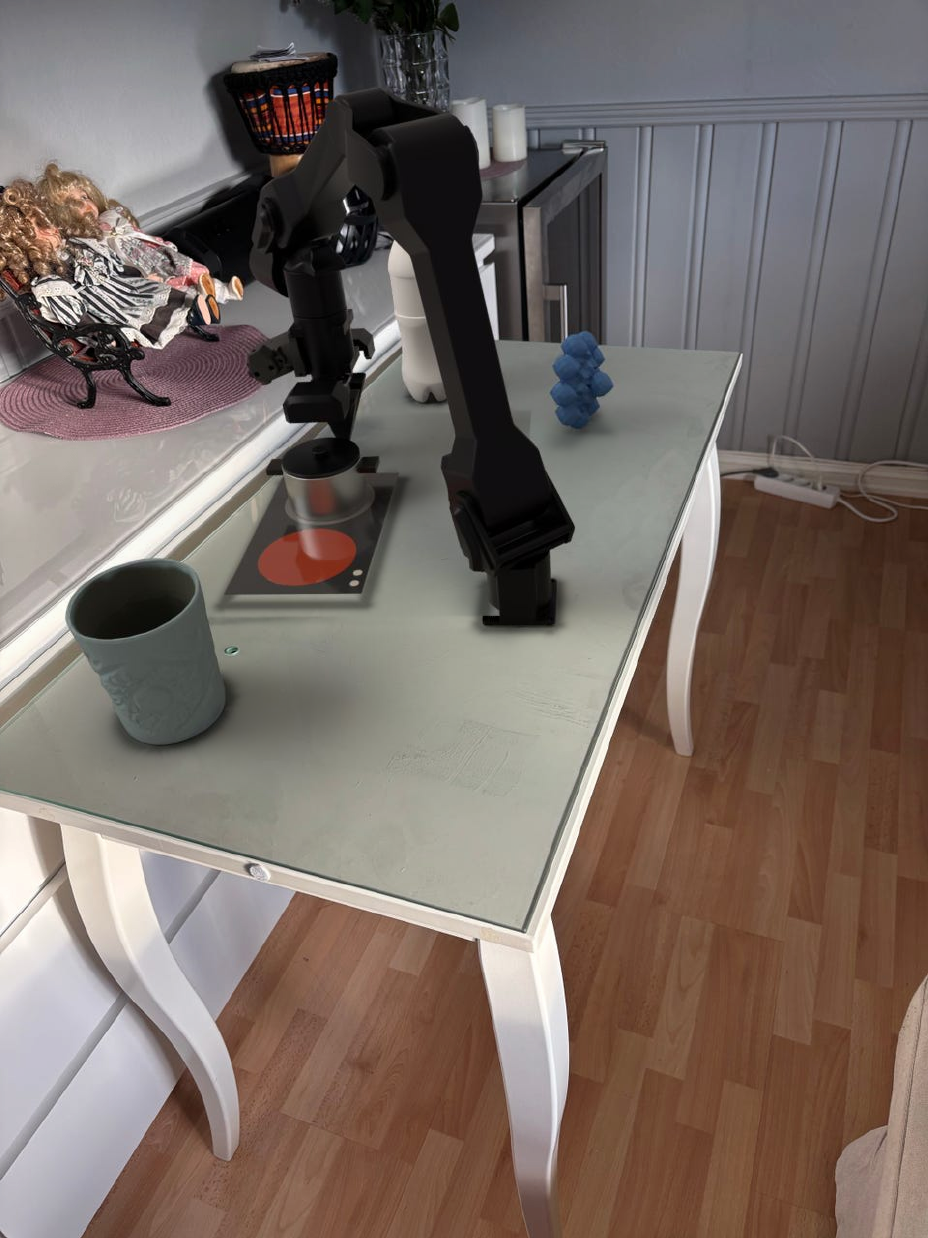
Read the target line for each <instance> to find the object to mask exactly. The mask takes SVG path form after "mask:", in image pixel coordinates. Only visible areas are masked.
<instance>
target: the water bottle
mask: <svg viewBox="0 0 928 1238" xmlns="http://www.w3.org/2000/svg"><path fill="white" fill-rule="evenodd" d="M387 270H388V274H389V278H390V285H391V293H392V300H393V307H394V309H393V314H394V318H395V320H396V322H397V325H398V330H399V334H400V340H401V348H402V349H401V352H402V359H401V360H402V361H401V374H402V381H403V383H404V385H405V388H406V390H407V391H408V392H409V394H410V395H411V397H412V398H413V399H414V400H415V401H416V402H418V403H426V402H427V401H428V398H429V396H430V393H432V394H433V396H434V398H435V400H436V401H437V402H443V401H447V398H446V395H445V391H444V387H443V383H442V379H441V375H440V371H439V367H438V363H437V359H436V355H435V352H434V348H433V344H432V340H431V336H430V332H429V328H428V324H427V320H426V316H425V312H424V309H423V305H422V301H421V297H420V293H419V289H418V285H417V281H416V277H415V273H414V269H413V266H412V262H411V259H410V256H409V255H408V253H407V252H406V251H405V250H404V249H403V248H402V247H401V246H400V245H399V244H398V243H397V242H396V241H395V240H394V239H393V242H392V245H391V248H390V251H389V255H388V260H387Z"/></svg>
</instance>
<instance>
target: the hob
mask: <svg viewBox="0 0 928 1238" xmlns="http://www.w3.org/2000/svg"><path fill="white" fill-rule="evenodd" d="M399 474H400V472H398V471H397V472H396V471H395V472H376V473H365V477H366V483H367V489H368V500H367V502H366V503H365V505H364V506H363V507H362V508H360V509H359V510H358V511H356V512H355V513H353V514H351V515H348V516H346V517H343V518H339V519H335V520H329V521H312V520H307V519H303V518H301V517H299V516H297V515H296V514H295V513H294V512H293V510H292V508H291V504H290V500H289V495H288V491H287V487H286V483H285V479H284V475H282V478H281V480H280V482H279V484H278V486H277V488H276V490H275V492H274V494H273V496H272V498H271V500H270V502H269V504H268V506H267V508H266V509H265V511H264V514H263V516H262V518H261V519H260V522H259V524H258V526H257V527H256V529H255V532H254V533H253V536H252V537H251V540H250V542H249V543H248V545H247V548H246V549H245V551H244V554H243V555H242V558H241V560H240V561H239V564H238V566H237V567H236V570H235V571H234V573H233V576H232V577H231V579H230V581H229V584H228V585H227V588H226V589H225V592H224V593H223V595H224V596H226V595H227V596H232V595H234V596H235V595H237V596H240V595H241V596H242V595H243V596H245V595H250V596H253V595H362V594H363V590H364V587H365V584H366V581H367V577H368V574H369V572H370V568H371V564H372V561H373V557H374V554H375V552H376V548H377V545H378V542H379V539H380V535H381V532H382V530H383V526H384V522H385V519H386V516H387V514H388V509H389V506H390V503H391V500H392V497H393V493H394V490H395V486H396V484H397V481H398V477H399Z"/></svg>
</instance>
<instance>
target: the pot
mask: <svg viewBox="0 0 928 1238" xmlns="http://www.w3.org/2000/svg"><path fill="white" fill-rule="evenodd" d="M380 463H381V460H380V456H379V455H373V456H372V455H371V456H362V451H361V450H360V447H359V445H358V444H357V443H356V442H354V441H352V440H347V439H344V438H336V437H335V436H334V437H333V436H331V437H330V436H329V437H328V436H327V437H318V438H313V439H310V440H307V441H304V442H301V443H299V444H296V445H294V446H293V447H291V448H290V449H289V450H287V451H286V452H285V454H284V455H283V457H282V458H272V459H270V461H269V463H268V464H267V467H266V469H265V473H266V476H267V477H269V476H284V479H285V483H286V487H287V491H288V495H289V500H290V504H291V508H292V510H293V512H294V513H295V514H296V515H297V516H299V517H301V518H303V519H307V520H312V521H329V520H335V519H339V518H343V517H346V516H348V515H351V514H353V513H355V512H356V511H358V510H359V509H360V508H362V507H363V506H364V505H365V503H366V502H367V500H368V489H367V483H366V477H365V473H377V472H378V469H379V466H380Z"/></svg>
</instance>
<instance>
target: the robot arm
mask: <svg viewBox="0 0 928 1238" xmlns="http://www.w3.org/2000/svg"><path fill="white" fill-rule="evenodd" d="M324 113H325V114H324V115H325V116H324V119H323V121H322V123H321V124H320V126H319V128H318V129H317V131H316V133H315V135H314V136H313V137H312V139H311V141H310V142H309V144H308V146H307V147H306V149H305V151H304V152H303V154H302V156H301V158H300V159H299V160H298V162H297V164H296V165H295V167H294V168H293V169H291V170H290V171H288V172H286V173H283V174H280V175H279V176H276V177H274V178H272V179H270V180H269V181H268V182H267V183H266V184H265V185H263V186H262V187H261V190H260V192H259V200H258V202H257V205H256V218H255V223H254V226H253V231H252V235H251V240H252V243H253V246H252V248H251V251H250V253H249V261H248V263H249V268H250V271H251V274H252V275H253V277H254V278H255V280H257V281H258V282H259V283H260V284H262V285H264V286H265V287H267V288H269V289H271V290H272V291H274V292H276V293H277V294H279V295H281V296H283V297H285V298H287V299H288V300H289V304H290V305H289V306H290V309H291V315H292V320H293V322H292V323H291V325H290V327H289V328H288V329H287V331H285V332H281V333H280V334H277V335H276V336H273V337H271V338H269V339H267V340H264V341H262V342H261V343H259V344H257V345H256V346H255V347H254V348H253V349H251V350H250V352H249V353H248V354H247V358H246V362H245V365H246V367H247V368H248V372H247V374H248V377H249V378H251V379H255V381H256V382H259V383H260V384H261V385H262V386H267V385H271V383H272V381H274V380H277V379H278V378H282V377H284V376H286V375H289V374H291V373H292V372H294V373H293V374H294V378H306V377H307V376H311V379H310V380H309V381H297V382H296V383H295V384H294V386H293V387H292V388H291V389H290V391H289V393H288V395H286V398H285V399H284V401H283V403H282V409H283V413H284V418H285V422H287V423H288V424H290V425H291V424H316V423H317V424H318V423H326V424H327V425H328V427H329V429H330V430H331V432H332V434H333V436H334V437H336V438H344V439H347V440H350V441H352V435H353V430H354V426H355V423H356V418H357V414H358V409H359V406H360V402H361V398H362V393H363V389H364V385H365V382H366V379H367V373H365V372H360V371H359V372H354V369H355V366H356V364H357V362H358V360H359V358H360V356H361V352H363V356H364V359H365V360H366V361H367V360H372V359H373V357H374V355H375V352H376V347H375V339H374V335H373V334H372V333H371V332H370V331H368V330H367V329H366V328H365V327H355V328H351V325H352V323H353V320H354V319H355V316H354V310H353V308H348V305H347V299H346V293H345V287H344V281H343V275H342V271H344V270H346V269H347V263H346V261H345V259H344V258H343V257H342V255H340V254H339V253H337V252H336V251H335V250H334V249H333V247H332V245H331V244H330V243H325V244H322V245H313V243H312V242H316V241H320V240H325V239H327V238H331V237H332V236H335V235H337V234H339V232H340V230H341V229H342V226H343V224H344V221H345V219H346V217H347V215H348V210H347V208H346V205H345V202H344V199H345V198H346V196H347V195H348V194H349V192H350V191H351V190H352V189H353V187H354V186H356V187H357V188H358V189H360V191H362V192H363V193H364V194H366V196H368V197H369V198H370V199H371V201H372V204H373V207H374V210H375V213H376V216H377V219H378V221H379V225H380V226H381V228H382V229H383V230H384V231H385V232H386V233H388V235H389V236H390V237H391V238H392V239H393V241H394V240H395V241H396V242H397V243H398V244H399V245H400V246H401V247H402V248H403V249H404V250H405V251H406V252H407V253H408V255H409V256H410V259H411V262H412V266H413V269H414V273H415V277H416V281H417V285H418V289H419V293H420V297H421V301H422V305H423V309H424V312H425V316H426V320H427V324H428V328H429V332H430V336H431V340H432V344H433V348H434V352H435V355H436V359H437V363H438V367H439V371H440V375H441V379H442V383H443V387H444V391H445V395H446V398H447V399H446V402H447V407H448V410H449V413H450V418H451V422H452V425H453V429H454V434H455V438H454V440H453V445H452V448H451V451H450V452H449V453H446V454H444V455H442V456H441V460H440V461H441V462H440V469H441V473H442V475H443V478H444V481H445V485H446V489H447V499H448V502H449V507H448V508H449V512H450V516H451V520H452V522H453V526H454V530H455V532H456V536H457V539H458V543H459V545H460V549H461V552H462V554H463V556H464V557H465V558H467V559H468V567H469V570H471V571H472V572H477V573H478V572H479V573H485V574H486V582H487V592H488V594H487V595H488V601H489V603H490V604H491V606H493V608H495V609H496V610H498V615H482V618H481V621H482V625H483V626H485V627H486V626H487V627H525V626H526V627H527V626H528V627H538V626H539V627H547V626H548V627H551V626H554V625H555V624H556V619H557V615H556V614H557V593H558V592H557V591H558V581H557V579H556V578H555V577H553V578H552V567H551V565H552V564H551V550H554V549H556V548H558V547H561V546H562V545H567V544H569V543H571V542H572V541H573V538H574V537H573V536H574V533H575V531H576V525H575V523H574V521H573V519H572V517H571V515H570V514H569V512H568V509H567V507H566V506H565V504H564V502H563V500H562V498H561V496H560V494H559V492H558V490H557V488H556V487H555V485H554V483H553V481H552V478H551V477H550V475H549V473H548V471H547V470H546V467H545V464H544V461H543V458H542V454H541V452H540V449H539V448H538V446H537V445H536V444H535V443H534V442H533V441H532V440H531V439H530V438H529V437H528V436H527V435H526V434H525V433H524V432H523V431H522V430H521V429H520V428H519V427H518V426H517V425H516V424H515V422H514V418H513V414H512V410H511V406H510V400H509V397H508V393H507V388H506V384H505V380H504V374H503V372H502V366H501V362H500V358H499V352H498V348H497V345H496V344H497V343H496V340H495V336H494V335H495V334H494V332H493V327H492V323H491V319H490V313H489V309H488V305H487V301H486V296H485V292H484V287H483V284H482V279H481V274H480V271H479V270H480V269H479V266H478V261H477V257H476V252H475V249H474V248H475V247H474V243H473V237H474V234H475V229H476V226H477V222H478V218H479V214H480V210H481V207H482V203H483V201H484V191H483V184H482V183H483V182H482V176H481V168H480V150H479V147H478V142H477V140H476V137H475V136H474V134H473V132H472V131H471V128H470V127H469V126H468V125H467V124H465V125H464V123H462V121H461V120H460V119H459V118H458V117H457V116H456V115H454V114H452V113H450V112H447V113H446V112H445V111H444V110H442V109H440V108H438V107H434V106H430V105H427V104H423V103H419V102H415V101H413V100H408V99H403V98H401V97H400V96H398V95H396V93H394V92H392V90H389V89H385V88H384V89H383V88H381V87H377V86H375V87H370V88H367V89H366V88H365V89H361V90H356V91H351V92H346V93H342V94H337V95H336V96H335V97H333V99H331V100H329V101H328V102H327V103H326V107H325V112H324Z"/></svg>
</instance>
